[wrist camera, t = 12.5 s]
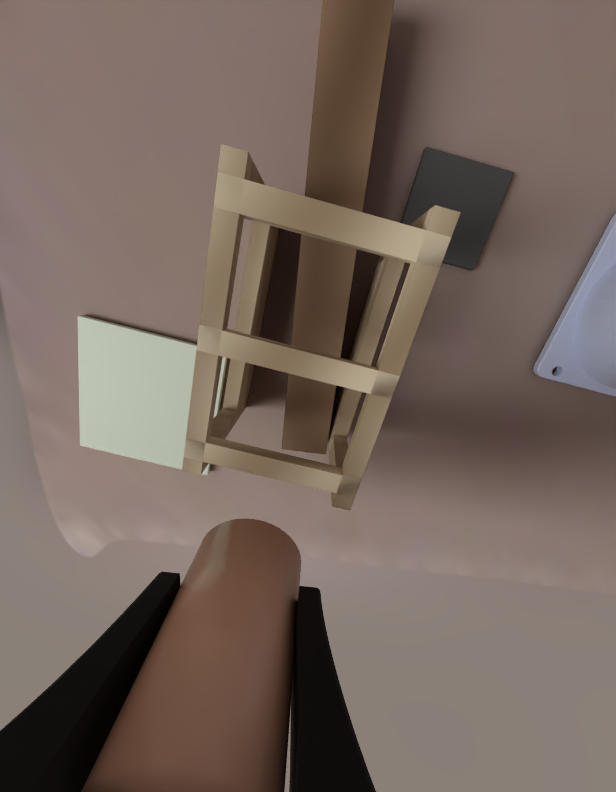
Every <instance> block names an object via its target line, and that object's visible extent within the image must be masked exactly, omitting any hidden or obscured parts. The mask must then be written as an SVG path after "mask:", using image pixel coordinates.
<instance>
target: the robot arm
mask: <svg viewBox="0 0 616 792" xmlns="http://www.w3.org/2000/svg"><path fill="white" fill-rule="evenodd" d="M554 367H557V369H556V371H555V372H554V373H553V374H552V370H553V369H554ZM533 370H534V373H535V374H536V375H538V376H540V377H543V378H547V379H550V380H554V381H558V382H562V383H566V384H569V385H573V386H577V387H581V388H585V389H588V390H592V391H596V392H600V393H604V394H607V395H611V396H615V397H616V213H615V214H614V216H613V217H612V219H611V221H610V223H609V225H608V226H607V228H606V230H605V232H604V234H603V236H602V238H601V240H600V242H599V243H598V245H597V247H596V249H595V251H594V253H593V255H592V257H591V259H590V261H589V262H588V264H587V266H586V268H585V270H584V272H583V274H582V276H581V278H580V279H579V281H578V283H577V285H576V287H575V289H574V291H573V293H572V295H571V297H570V298H569V300H568V302H567V304H566V306H565V308H564V310H563V312H562V314H561V315H560V317H559V319H558V321H557V323H556V325H555V327H554V329H553V331H552V333H551V334H550V336H549V338H548V340H547V342H546V344H545V346H544V348H543V350H542V352H541V353H540V355H539V357H538V359H537V361H536V363H535V365H534V368H533ZM179 588H180V574H179V573H169V572H161V573H159V574H158V575H157V576H156V578H155V579H154V580H153V581H152V582H151V583H150V584H149V585H148V586H147V587H146V589H145V590H144V591H143V592H142V593H141V594H140V595H139V597H137V599H136V600H135V601H134V602H133V603H132V604H131V605H130V606H129V607H128V608H127V609H126V610H125V611H124V613H123V614H122V615H121V616H120V617H119V618H118V619H117V620H116V621H115V622H114V623H113V624H112V625H111V626H110V627H109V628H108V629H107V630H106V631H105V633H104V634H103V635H102V636H101V637H100V638H99V639H98V640H97V641H96V642H95V643H94V644H93V645H92V646H91V647H90V648H89V649H88V650H87V651H86V652H85V653H84V654H83V655H82V656H81V657H80V658H79V659H78V660H77V661H76V662H75V663H73V664H72V665H71V666H70V667H69V668H68V669H67V670H66V671H65V672H64V673H63V674H62V675H61V676H60V677H59V678H58V679H57V680H56V681H55V682H54V683H53V684H52V685H51V686H50V687H48V689H46V690H45V691H44V692H43V693H42V694H41V695H40V696H39V697H38V698H37V699H35V700H34V701H33V702H32V703H31V704H30V705H29V706H28V707H27V708H25V709H24V710H23V711H22V712H21V713H20V714H19V715H18V716H17V717H15V718H14V719H13V720H12V721H11V722H10V723H9V724H7V725H6V726H5V727H4V728H3V729H2V730H1V731H0V792H81V791H82V789H83V787H84V785H85V783H86V781H87V779H88V777H89V774H90V772H91V770H92V768H93V766H94V764H95V762H96V760H97V758H98V756H99V754H100V752H101V750H102V748H103V746H104V743H105V741H106V739H107V737H108V735H109V733H110V731H111V729H112V727H113V725H114V723H115V721H116V719H117V717H118V715H119V712H120V710H121V708H122V706H123V704H124V702H125V700H126V698H127V696H128V694H129V692H130V690H131V688H132V686H133V684H134V681H135V679H136V677H137V675H138V673H139V671H140V669H141V667H142V665H143V663H144V661H145V659H146V657H147V655H148V653H149V650H150V648H151V646H152V644H153V642H154V640H155V638H156V636H157V634H158V632H159V630H160V628H161V626H162V624H163V621H164V619H165V617H166V615H167V613H168V611H169V609H170V607H171V605H172V603H173V601H174V599H175V597H176V595H177V593H178V590H179ZM290 748H291V749H290V789H289V792H376V791H375V788H374V785H373V783H372V780H371V777H370V775H369V772H368V769H367V767H366V764H365V761H364V758H363V755H362V752H361V750H360V747H359V744H358V741H357V738H356V735H355V732H354V729H353V726H352V723H351V720H350V716H349V713H348V710H347V707H346V704H345V700H344V697H343V694H342V690H341V687H340V684H339V680H338V676H337V672H336V669H335V665H334V661H333V657H332V654H331V649H330V645H329V641H328V636H327V632H326V627H325V622H324V617H323V610H322V604H321V594H320V590H319V589H318V588H314V587H304V586H299V593H298V603H297V616H296V629H295V651H294V666H293V679H292V693H291V746H290Z"/></svg>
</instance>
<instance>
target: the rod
mask: <svg viewBox="0 0 616 792" xmlns="http://www.w3.org/2000/svg"><path fill="white" fill-rule="evenodd" d="M393 6H394V0H323V5H322V15H321V26H320V37H319V48H318V59H317V70H316V81H315V91H314V102H313V113H312V124H311V135H310V146H309V157H308V167H307V178H306V189H305V196H306V197H309V198H313V199H316V200H320V201H324V202H327V203H331V204H334V205H338V206H341V207H345V208H349V209H352V210H356V211H359V212H362V211H363V205H364V198H365V191H366V185H367V178H368V172H369V165H370V158H371V152H372V145H373V138H374V132H375V125H376V119H377V112H378V105H379V99H380V92H381V85H382V79H383V72H384V66H385V59H386V52H387V46H388V39H389V32H390V26H391V19H392V13H393ZM356 251H357V249H354V248H351V247H347V246H343V245H340V244H336V243H332V242H329V241H325V240H321V239H318V238H314V237H311V236H307V235H303V234H301V243H300V254H299V265H298V276H297V287H296V298H295V309H294V320H293V330H292V341H291V345H292V346H296V347H300V348H304V349H308V350H312V351H316V352H319V353H323V354H327V355H331V356H335V357H339V358H340V357H341V350H342V344H343V337H344V331H345V324H346V317H347V311H348V304H349V297H350V291H351V284H352V278H353V271H354V264H355V258H356ZM335 390H336V385H333V384H329V383H325V382H321V381H317V380H313V379H309V378H305V377H301V376H297V375H293V374H288V385H287V396H286V406H285V417H284V428H283V439H282V449H286V450H295V451H303V452H311V453H319V454H326V450H327V443H328V437H329V430H330V423H331V417H332V410H333V403H334V397H335Z"/></svg>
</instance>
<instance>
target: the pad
mask: <svg viewBox="0 0 616 792" xmlns="http://www.w3.org/2000/svg"><path fill="white" fill-rule="evenodd" d="M196 349H197V344H194V343H190V342H187V341H183V340H179V339H175V338H171V337H167V336H163V335H159V334H155V333H151V332H147V331H143V330H139V329H135V328H131V327H127V326H124V325H120V324H116V323H112V322H108V321H104V320H100V319H96V318H92V317H88V316H84V315H81V316H78V361H79V415H80V446H84V447H88V448H93V449H97V450H101V451H105V452H110V453H114V454H118V455H122V456H127V457H131V458H135V459H139V460H144V461H148V462H152V463H156V464H161V465H165V466H169V467H173V468H178V469H182V466H183V457H184V449H185V441H186V432H187V424H188V416H189V408H190V399H191V391H192V383H193V374H194V366H195V358H196ZM227 359H228V358H226V357H223V358H222V364H221V371H220V378H219V384H218V391H217V397H216V404H215V410H214V417H215V416H216V415H217V414H218V413H219V409H220V403H221V397H222V390H223V384H224V378H225V371H226V365H227ZM214 417H213V419H214ZM210 466H211V464H210V463H209V464H208V465H207V467H206V468H205V470H204V471H203V473H202V474H203V475H208V474H209V472H210Z"/></svg>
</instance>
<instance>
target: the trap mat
mask: <svg viewBox="0 0 616 792" xmlns="http://www.w3.org/2000/svg"><path fill="white" fill-rule="evenodd" d="M513 174H514V173H513V172H510V171H506V170H503V169H500V168H496V167H493V166H489V165H486V164H483V163H479V162H476V161H472V160H469V159H465V158H462V157H459V156H455V155H452V154H448V153H445V152H442V151H438V150H435V149H431V148H428V147H426V148H425V149H424V151H423V154H422V157H421V161H420V164H419V167H418V170H417V173H416V176H415V180H414V183H413V186H412V189H411V192H410V196H409V199H408V202H407V205H406V208H405V211H404V215H403V218H402V221H401V223H402V224H406V225H411V224H412V223H413V222H414V221H416V220H417V219H418V218H419V217H421V216H422V215H423V214H425V213H426V212H427V211H428V210H430V209H431V208H432V207H434V206H435V205H437V206H440V207H444V208H447V209H451V210H454V211H458V212H461V213H460V215H459V218H458V221H457V224H456V226H455V229H454V232H453V234H452V237H451V240H450V242H449V245H448V248H447V250H446V253H445V256H444V259H443V261H442V263H446V264H449V265H453V266H457V267H460V268H464V269H467V270H474V269H475V266H476V264H477V262H478V259H479V257H480V254H481V252H482V249H483V247H484V244H485V242H486V240H487V237H488V235H489V232H490V230H491V227H492V225H493V222H494V220H495V218H496V215H497V213H498V210H499V208H500V205H501V203H502V200H503V198H504V196H505V193H506V191H507V188H508V186H509V183H510V181H511V178H512V176H513Z"/></svg>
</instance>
